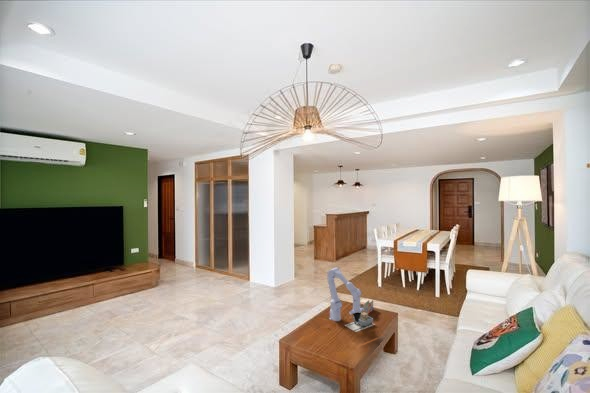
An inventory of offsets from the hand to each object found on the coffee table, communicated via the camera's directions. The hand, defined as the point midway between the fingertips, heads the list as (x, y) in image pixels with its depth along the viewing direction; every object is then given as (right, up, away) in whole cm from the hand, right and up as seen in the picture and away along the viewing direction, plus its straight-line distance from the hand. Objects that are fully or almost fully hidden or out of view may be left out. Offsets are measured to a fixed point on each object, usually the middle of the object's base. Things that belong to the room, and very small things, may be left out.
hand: (356, 321), depth 228 cm
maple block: (+7, -1, +4) cm, 8 cm away
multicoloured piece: (+14, -5, +27) cm, 31 cm away
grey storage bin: (+6, -4, +4) cm, 8 cm away
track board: (+3, -5, +2) cm, 6 cm away
